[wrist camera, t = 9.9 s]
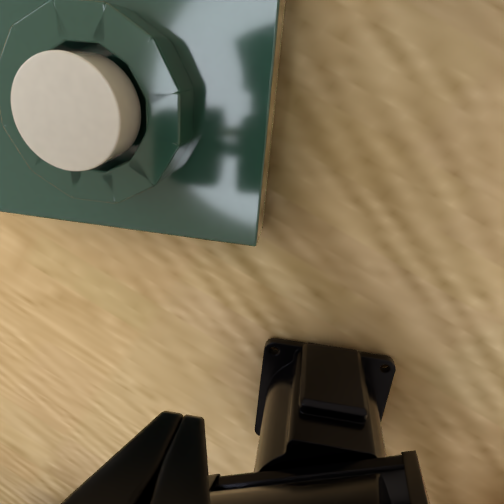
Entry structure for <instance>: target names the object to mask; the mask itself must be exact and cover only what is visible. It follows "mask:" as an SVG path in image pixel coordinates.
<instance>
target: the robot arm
mask: <svg viewBox="0 0 504 504" xmlns="http://www.w3.org/2000/svg"><path fill="white" fill-rule="evenodd" d="M271 347H276V348H278V350H272V349H271ZM382 365H388V367H386V368H382V367H381V366H382ZM394 373H395V363H394V361H393V359H392V358H391V357H389V356H386V355H380V354H373V353H367V352H361V351H356V350H352V349H346V348H340V347H333V346H327V345H320V344H314V343H303V342H297V341H291V340H284V339H278V338H271V339H269V340H268V341H267V342H266V344H265V348H264V356H263V365H262V373H261V382H260V390H259V398H258V407H257V415H256V424H255V432H256V433H257V434H258V435H259V436H260V437H259V444H258V450H257V456H256V462H255V468H254V472H253V473H244V474H236V475H228V476H220V474H214V475H208V464H207V450H206V437H205V424H204V419H203V418H202V417H198V416H192V415H185V416H184V417H183V415H182V414H180V413H175V412H169V411H164V412H162V413H160V414H159V415H158V416H157V417H156V418H155V419H154V420H153V421H152V422H150V423H149V424H148V425H147V426H146V427H145V428H144V429H143V430H142V431H140V432H139V433H138V434H137V435H136V436H135V437H134V438H133V439H132V440H131V441H129V442H128V443H127V444H126V445H125V446H124V447H123V448H122V449H121V450H119V451H118V452H117V453H116V454H115V455H114V456H113V457H112V458H111V459H109V460H108V461H107V462H106V463H105V464H104V465H103V466H102V467H101V468H100V469H98V470H97V471H96V472H95V473H94V474H93V475H92V476H91V477H90V478H88V479H87V480H86V481H85V482H84V483H83V484H82V485H81V486H80V487H79V488H77V489H76V490H75V491H74V492H73V493H72V494H71V495H70V496H69V497H67V498H66V499H65V500H64V501H63V502H62V503H61V504H430V502H429V498H428V495H427V491H426V487H425V483H424V480H423V476H422V472H421V469H420V465H419V461H418V457H417V454H416V450H415V451H406V452H401V454H402V455H397V456H389V457H386V452H385V446H384V440H383V434H382V428H381V419H382V416H383V412H384V409H385V405H386V402H387V398H388V395H389V391H390V388H391V384H392V380H393V377H394Z"/></svg>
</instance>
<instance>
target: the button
mask: <svg viewBox="0 0 504 504" xmlns="http://www.w3.org/2000/svg"><path fill="white" fill-rule="evenodd" d="M11 109H12V114H13V118H14V121H15V124H16V126H17V129H18V131H19V133H20V135H21V136H22V138H23V139H24V141H25V142H26V144H27V145H28V146H29V147H30V149H31V150H32V151H33V152H34V153H35V154H36V155H38V156H39V157H40V158H41V159H43V160H44V161H46V162H47V163H49V164H51V165H53V166H55V167H57V168H60V169H63V170H68V171H86V170H91V169H93V168H96V167H98V166H100V165H102V164H104V163H106V162H109V161H111V160H113V159H115V158H117V157H119V156H121V155H122V154H124V153H125V152H126V151H127V150H128V149H129V148H130V147H131V146H132V145H133V143H134V142H135V140H136V138H137V136H138V133H139V129H140V124H141V106H140V101H139V98H138V95H137V92H136V90H135V87H134V85H133V84H132V82H131V80H130V79H129V77H128V76H127V75H126V73H125V72H124V71H123V70H122V69H121V68H120V67H119V66H118V65H117V64H116V63H114V62H113V61H112V60H110V59H108V58H107V57H105V56H103V55H100V54H97V53H94V52H88V51H72V50H47V51H43V52H40V53H37V54H35V55H33V56H31V57H30V58H29V59H28V60H26V61H25V62H24V63H23V64H22V66H21V67H20V68H19V70H18V71H17V73H16V75H15V78H14V80H13V84H12V89H11Z"/></svg>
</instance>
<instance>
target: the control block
mask: <svg viewBox="0 0 504 504" xmlns="http://www.w3.org/2000/svg"><path fill="white" fill-rule="evenodd" d="M285 2H286V0H0V212H7V213H15V214H22V215H29V216H37V217H44V218H51V219H59V220H66V221H73V222H81V223H88V224H95V225H103V226H110V227H117V228H125V229H132V230H139V231H147V232H154V233H161V234H168V235H176V236H183V237H190V238H198V239H205V240H212V241H220V242H227V243H234V244H242V245H249V246H256V245H257V242H258V239H259V236H260V233H261V231H262V228H263V219H264V209H265V199H266V189H267V179H268V170H269V160H270V150H271V140H272V130H273V120H274V110H275V100H276V90H277V81H278V71H279V61H280V51H281V41H282V31H283V21H284V11H285ZM47 50H72V51H88V52H94V53H97V54H100V55H103V56H105V57H107V58H108V59H110V60H112V61H113V62H114V63H116V64H117V65H118V66H119V67H120V68H121V69H122V70H123V71H124V72H125V73H126V75H127V76H128V77H129V79H130V80H131V82H132V84H133V85H134V87H135V90H136V92H137V95H138V98H139V101H140V106H141V124H140V129H139V133H138V136H137V138H136V140H135V142H134V143H133V145H132V146H131V147H130V148H129V149H128V150H127V151H126V152H125V153H124V154H122V155H121V156H119V157H117V158H115V159H113V160H111V161H109V162H106V163H104V164H102V165H100V166H98V167H96V168H93V169H91V170H86V171H68V170H63V169H60V168H57V167H55V166H53V165H51V164H49V163H47V162H46V161H44V160H43V159H41V158H40V157H39V156H38V155H36V154H35V153H34V152H33V151H32V150H31V149H30V147H29V146H28V145H27V144H26V142H25V141H24V139H23V138H22V136H21V135H20V133H19V131H18V129H17V126H16V124H15V121H14V118H13V114H12V109H11V89H12V84H13V80H14V78H15V75H16V73H17V71H18V70H19V68H20V67H21V66H22V64H23V63H24V62H25V61H26V60H28V59H29V58H30V57H31V56H33V55H35V54H37V53H40V52H43V51H47Z"/></svg>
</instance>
